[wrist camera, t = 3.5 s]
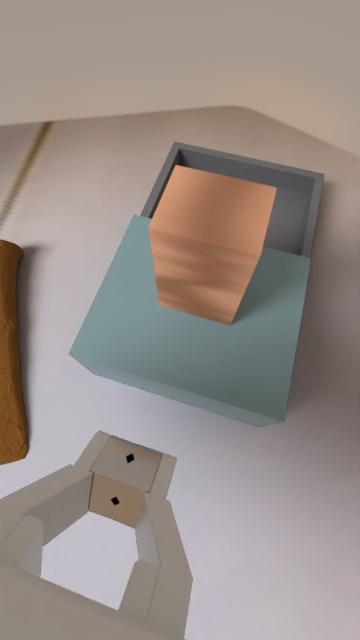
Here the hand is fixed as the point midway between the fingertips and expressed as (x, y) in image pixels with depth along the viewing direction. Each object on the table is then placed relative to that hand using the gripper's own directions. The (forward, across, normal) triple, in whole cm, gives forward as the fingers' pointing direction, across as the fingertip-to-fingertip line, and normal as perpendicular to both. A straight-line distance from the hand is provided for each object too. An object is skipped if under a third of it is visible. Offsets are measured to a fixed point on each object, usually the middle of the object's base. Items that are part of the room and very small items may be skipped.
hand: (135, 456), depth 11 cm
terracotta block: (+12, 0, -3) cm, 13 cm away
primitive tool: (+12, +15, +7) cm, 21 cm away
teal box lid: (+16, 0, +2) cm, 16 cm away
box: (+25, 0, -7) cm, 26 cm away
